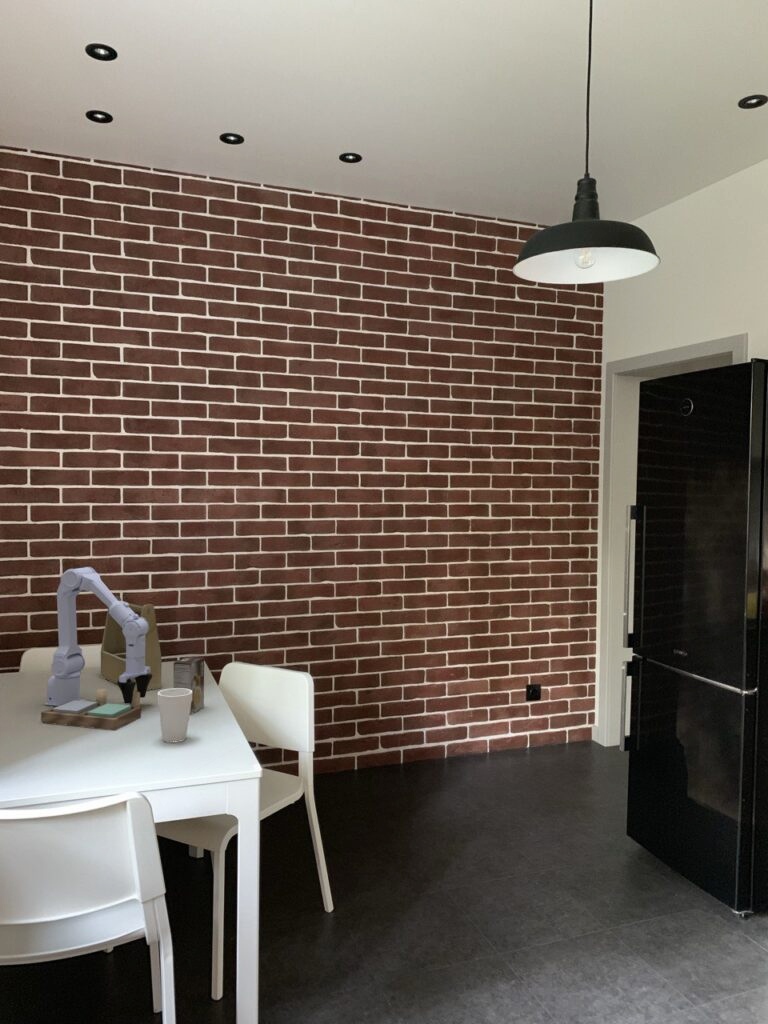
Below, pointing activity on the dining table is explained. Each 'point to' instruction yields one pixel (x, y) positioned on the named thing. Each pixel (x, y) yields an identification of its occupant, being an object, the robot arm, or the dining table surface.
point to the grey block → (83, 704)
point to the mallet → (116, 708)
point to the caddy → (116, 648)
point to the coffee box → (191, 679)
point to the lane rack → (90, 718)
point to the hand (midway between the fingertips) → (134, 700)
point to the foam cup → (174, 713)
